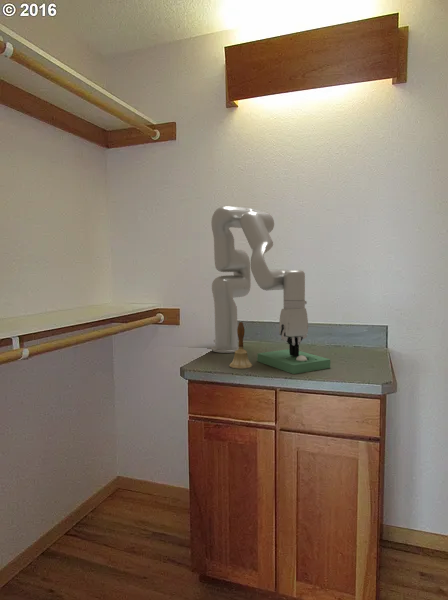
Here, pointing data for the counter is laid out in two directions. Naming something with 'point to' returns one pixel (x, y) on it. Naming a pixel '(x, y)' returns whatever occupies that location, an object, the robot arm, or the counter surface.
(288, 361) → the block
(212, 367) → the counter surface
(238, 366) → the hand bell
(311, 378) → the counter surface
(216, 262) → the robot arm
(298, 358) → the ball
